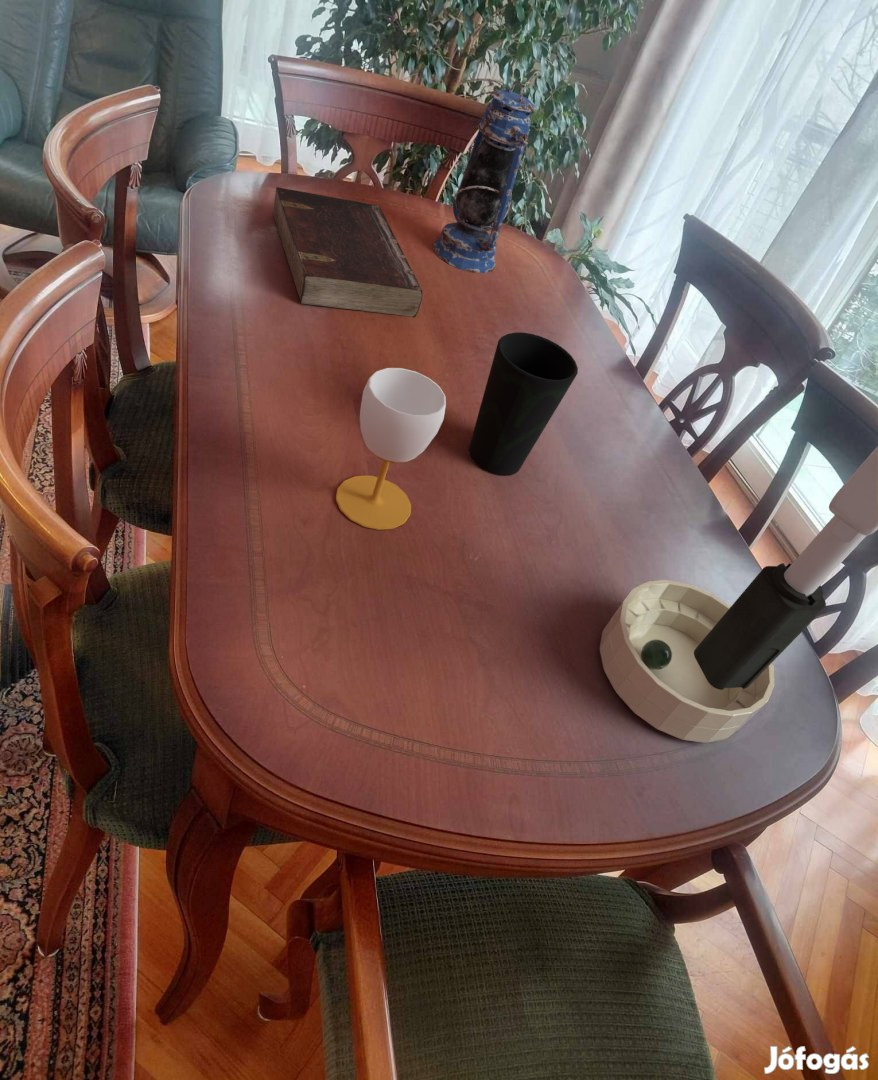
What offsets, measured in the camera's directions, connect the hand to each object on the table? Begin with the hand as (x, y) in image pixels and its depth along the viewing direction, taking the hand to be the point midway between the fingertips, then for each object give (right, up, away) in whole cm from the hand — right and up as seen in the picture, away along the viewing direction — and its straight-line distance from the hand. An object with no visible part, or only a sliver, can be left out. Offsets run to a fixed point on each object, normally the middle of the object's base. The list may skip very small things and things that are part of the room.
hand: (850, 526), depth 65 cm
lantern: (-30, +52, +81) cm, 101 cm away
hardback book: (-51, +45, +65) cm, 94 cm away
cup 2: (-27, +10, +39) cm, 49 cm away
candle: (-6, -14, +14) cm, 21 cm away
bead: (-11, -13, +18) cm, 25 cm away
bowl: (-9, -16, +20) cm, 27 cm away
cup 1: (-42, +3, +26) cm, 50 cm away
